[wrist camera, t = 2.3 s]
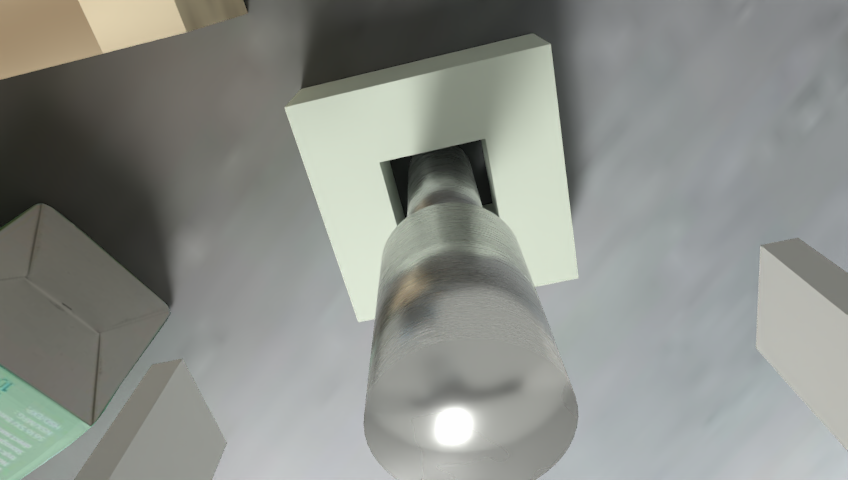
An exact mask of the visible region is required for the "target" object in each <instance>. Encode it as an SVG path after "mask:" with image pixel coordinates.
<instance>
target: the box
mask: <svg viewBox="0 0 848 480" xmlns="http://www.w3.org/2000/svg"><path fill="white" fill-rule="evenodd" d="M170 314H171V312H170V310H169V308H168V305H167V304H166V303H165V302H164V301H163V300H162V299H160V298H159V297H158V296H157V295H156V294H155V293H153V292H152V291H151V290H150V289H149V288H148V287H146V286H145V285H144V284H143V283H142V282H141V281H140V280H138V279H137V278H136V277H135V276H134V275H133V274H131V273H130V272H129V271H128V270H127V269H126V268H124V267H123V266H122V265H121V264H120V263H119V262H118V261H116V260H115V259H114V258H113V257H112V256H111V255H109V254H108V253H107V252H106V251H105V250H104V249H102V248H101V247H100V246H99V245H98V244H97V243H96V242H94V241H93V240H92V239H91V238H90V237H89V236H87V235H86V234H85V233H84V232H83V231H81V230H80V229H79V228H78V227H77V226H75V225H74V224H73V223H72V222H70V221H69V220H68V219H67V218H65V217H64V216H63V215H62V214H60V213H59V212H58V211H56V210H55V209H54V208H52V207H50V206H48V205H46V204H43V203H40V204H35V205H33V206H32V207H30V208H29V209H27V210H26V211H25V212H23V213H22V214H20V215H19V216H17V217H16V218H14V219H13V220H11V221H10V222H8V223H7V224H5V225H4V226H2V227H1V228H0V480H20V479H22V478H23V477H25V476H26V475H28V474H29V473H31V472H32V471H33V470H35V469H36V468H38V467H39V466H41V465H42V464H44V463H45V462H46V461H48V460H49V459H51V458H52V457H54V456H55V455H56V454H58V453H59V452H61V451H62V450H63V449H65V448H66V447H68V446H69V445H70V444H72V443H73V442H74V441H75V440H76V439H78V438H79V437H80V436H81V435H82V434H83V433H85V432H86V431H87V430H88V429H89V428H90V427H92V426H93V425H94V424H95V422H96V421H97V420H98V418H99V417H100V416H101V414H102V413H103V412H104V410H105V409H106V407H107V406H108V404H109V402H110V401H111V399H112V398H113V396H114V394H115V393H116V391H117V390H118V388H119V386H120V385H121V383H122V382H123V381H124V379H125V378H126V376H127V375H128V374H129V372H130V371H131V369H132V368H133V367H134V365H135V364H136V362H137V361H138V360H139V358H140V357H141V355H142V354H143V353H144V351H145V350H146V349H147V347H148V346H149V344H150V343H151V342H152V340H153V339H154V337H155V336H156V335H157V333H158V332H159V330H160V329H161V328H162V326H163V325H164V323H165V322H166V321H167V319H168V317H169V316H170Z"/></svg>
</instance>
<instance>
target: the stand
mask: <svg viewBox="0 0 848 480" xmlns="http://www.w3.org/2000/svg"><path fill="white" fill-rule="evenodd" d="M285 110H286V113H287V116H288V119H289V122H290V125H291V128H292V131H293V134H294V137H295V139H296V142H297V145H298V148H299V151H300V154H301V157H302V160H303V163H304V166H305V169H306V171H307V174H308V177H309V180H310V183H311V186H312V189H313V192H314V195H315V198H316V201H317V203H318V206H319V209H320V212H321V215H322V218H323V221H324V224H325V227H326V230H327V233H328V235H329V238H330V241H331V244H332V247H333V250H334V253H335V256H336V259H337V262H338V265H339V267H340V270H341V273H342V276H343V279H344V282H345V285H346V288H347V291H348V294H349V297H350V299H351V302H352V305H353V308H354V311H355V314H356V317H357V320H358V322H362V321H367V320H372V319H375V313H376V304H377V295H378V286H379V276H380V267H381V258H382V253H383V249H384V247H385V244H386V241H387V240H388V238H389V236H390V234H391V233H392V232H393V230H394V229H395V228H396V227H397V226H398V225H399V224H400V223H401V222H402V221H403V220H404V219H405V216H404V212H403V209H402V205H401V201H400V197H399V194H398V190H397V186H396V183H395V179H394V175H393V171H392V168H391V164H390V160H393V159H397V158H401V157H406V156H410V155H415V154H419V153H424V152H428V151H432V150H437V149H441V148H446V147H450V146H455V145H459V144H464V143H468V142H472V141H477V140H481V143H482V148H483V154H484V159H485V165H486V170H487V175H488V181H489V186H490V191H491V197H492V202H493V203H491V204H486V205H482V207H483V208H485V209H487V210H489V211H491V212H492V213H494V214H495V215H497V216H498V217H500V218H501V219H502V220H503V221H504V222H505V223H506V224H507V225H508V226H509V227H510V229H511V230H512V231H513V233H514V235H515V236H516V238H517V241H518V243H519V246H520V248H521V251H522V254H523V257H524V259H525V262H526V265H527V267H528V270H529V273H530V275H531V278H532V281H533V283H534V286H535V287H537V286H542V285H547V284H552V283H557V282H562V281H567V280H572V279H577V278H578V270H577V262H576V253H575V245H574V236H573V228H572V219H571V211H570V202H569V194H568V185H567V177H566V169H565V160H564V152H563V143H562V135H561V126H560V118H559V109H558V101H557V92H556V84H555V75H554V67H553V58H552V50H551V44H550V43H548V42H547V41H545V40H543V39H542V38H540V37H538V36H537V35H535V34H533V33H531V34H527V35H523V36H519V37H515V38H511V39H507V40H502V41H498V42H494V43H490V44H486V45H482V46H477V47H473V48H469V49H465V50H461V51H457V52H453V53H448V54H444V55H440V56H436V57H432V58H428V59H423V60H419V61H415V62H411V63H407V64H403V65H398V66H394V67H390V68H386V69H382V70H378V71H374V72H369V73H365V74H361V75H357V76H353V77H349V78H344V79H340V80H336V81H332V82H328V83H324V84H320V85H315V86H311V87H307V88H303V89H300V91H299V92H298V93H297V94H296V95H295V96H294V97H293V98H292V99H291V101H290V102H289V103H288V104H287V105H286V106H285Z"/></svg>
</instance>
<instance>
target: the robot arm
mask: <svg viewBox="0 0 848 480" xmlns="http://www.w3.org/2000/svg"><path fill="white" fill-rule="evenodd" d="M756 349H757V350H758V351H759V352H760V353H761V354H762V355H763V357H764V358H765V359H766V360H767V361H768V362H769V363H770V364H771V366H772V367H773V368H774V369H775V370H776V371H777V372H778V373H779V375H780V376H781V377H782V378H783V379H784V380H785V381H786V382H787V384H788V385H789V386H790V387H791V388H792V389H793V390H794V391H795V393H796V394H797V395H798V396H799V397H800V398H801V399H802V400H803V402H804V403H805V404H806V405H807V406H808V407H809V408H810V409H811V411H812V412H813V413H814V414H815V415H816V416H817V417H818V418H819V420H820V421H821V422H822V423H823V424H824V425H825V426H826V427H827V429H828V430H829V431H830V432H831V433H832V434H833V435H834V436H835V438H836V439H837V440H838V441H839V442H840V443H841V444H842V445H843V447H844V448H845V449H846V450H847V451H848V273H847V272H845V271H844V270H843V269H841V268H840V267H838V266H837V265H836V264H834V263H833V262H831V261H830V260H829V259H827V258H826V257H824V256H823V255H821V254H820V253H819V252H817V251H816V250H814V249H813V248H812V247H810V246H809V245H807V244H806V243H805V242H803V241H802V240H800V239H799V238H795V239H790V240H784V241H779V242H774V243H769V244H764V245H760V267H759V289H758V311H757V333H756ZM226 444H227V442H226V440H225V438H224V437H223V435H222V433H221V431H220V429H219V427H218V425H217V423H216V421H215V419H214V418H213V416H212V414H211V412H210V410H209V408H208V406H207V404H206V402H205V400H204V399H203V397H202V395H201V393H200V391H199V389H198V387H197V385H196V383H195V382H194V380H193V378H192V376H191V374H190V372H189V370H188V368H187V366H186V364H185V363H184V361H183V359H179V360H173V361H168V362H163V363H158V364H153V365H152V366H151V367H150V369H149V370H148V371H147V373H146V374H145V376H144V377H143V379H142V380H141V382H140V383H139V385H138V386H137V388H136V389H135V391H134V392H133V394H132V395H131V397H130V398H129V399H128V401H127V402H126V404H125V405H124V407H123V408H122V410H121V411H120V413H119V414H118V416H117V417H116V419H115V420H114V422H113V423H112V425H111V426H110V428H109V429H108V430H107V432H106V433H105V435H104V436H103V438H102V439H101V441H100V442H99V444H98V445H97V447H96V448H95V450H94V451H93V453H92V454H91V456H90V457H89V458H88V460H87V461H86V463H85V464H84V466H83V467H82V469H81V470H80V472H79V473H78V475H77V476H76V478H75V479H74V480H212V478H213V476H214V473H215V471H216V469H217V466H218V464H219V461H220V459H221V456H222V454H223V451H224V449H225V447H226Z"/></svg>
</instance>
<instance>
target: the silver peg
mask: <svg viewBox="0 0 848 480" xmlns="http://www.w3.org/2000/svg"><path fill="white" fill-rule="evenodd" d="M577 422H578V406H577V401H576V397H575V394H574V391H573V388H572V386H571V383H570V380H569V378H568V375H567V372H566V370H565V367H564V364H563V361H562V359H561V356H560V353H559V351H558V348H557V345H556V343H555V340H554V337H553V335H552V332H551V329H550V327H549V324H548V321H547V318H546V316H545V313H544V310H543V308H542V305H541V302H540V300H539V297H538V294H537V292H536V289H535V286H534V283H533V281H532V278H531V275H530V273H529V270H528V267H527V265H526V262H525V259H524V257H523V254H522V251H521V248H520V246H519V243H518V241H517V238H516V236H515V235H514V233H513V231H512V230H511V229H510V227H509V226H508V225H507V224H506V223H505V222H504V221H503V220H502V219H501V218H500V217H498V216H497V215H495V214H494V213H492V212H491V211H489V210H487V209H485V208H483V207H482V204H481V200H480V197H479V193H478V189H477V186H476V182H475V179H474V175H473V171H472V168H471V164H470V161H469V158H468V156H467V155H466V153H465V152H464V151H463V150H462V149H461V148H460V147H458V146H457V145H455V146H450V147H446V148H441V149H437V150H432V151H428V152H424V153H419V154H415V155H413V157H412V158H411V161H410V163H409V169H408V201H407V218H405V219H404V220H403V221H402V222H401V223H400V224H399V225H398V226H397V227H396V228H395V229H394V230H393V232H392V233H391V234H390V236H389V238H388V240H387V241H386V244H385V247H384V249H383V253H382V258H381V267H380V276H379V286H378V295H377V304H376V313H375V322H374V331H373V340H372V349H371V358H370V367H369V376H368V385H367V395H366V404H365V413H364V432H365V437H366V440H367V444H368V446H369V448H370V450H371V452H372V454H373V456H374V457H375V458H376V460H377V461H378V463H379V464H380V465H381V466H382V467H383V468H384V469H385V470H386V471H387V472H388V473H389V474H391V475H392V476H393V477H394V478H396V479H398V480H536V479H537V478H539V477H540V476H542V475H543V474H544V473H546V472H547V471H548V470H549V469H551V468H552V467H553V466H554V465H555V464H556V463H557V462H558V461H559V460H560V459H561V457H562V456H563V455H564V453H565V452H566V451H567V449H568V448H569V446H570V444H571V442H572V440H573V438H574V435H575V431H576V428H577Z"/></svg>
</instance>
